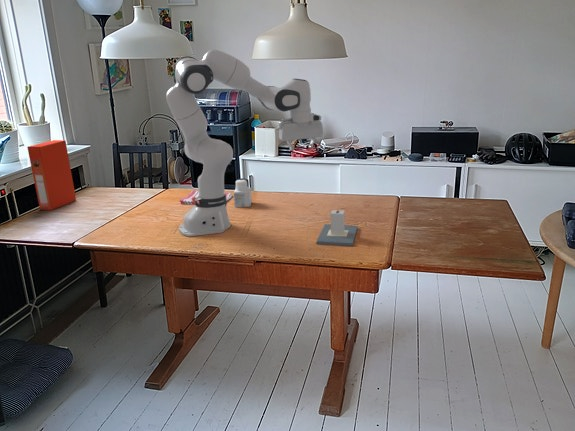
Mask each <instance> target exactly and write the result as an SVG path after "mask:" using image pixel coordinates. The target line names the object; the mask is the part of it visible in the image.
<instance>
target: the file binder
mask: <svg viewBox="0 0 575 431" xmlns="http://www.w3.org/2000/svg"><path fill="white" fill-rule="evenodd" d="M26 148H27V152H28V153H27V154H28V157H29V162H30V167H31V171H32V177H33V181H34V187H35V192H36V195H37V196H36V197H37V201H38V206H39V209H40V210H45V211H53V210H55V209H58V208H61V207H63V206H65V205H68V204H71V203H72V202H75V201H77V196H76V190H75V186H74V185H75V184H74V181H73V174H72V169H71V163H70V157H69V154H68V153H69V152H68V148H67V142H66V140H64V139H63V140H60V139H58V140H57V139H52V140H49V141H45V142H42V143H37V144H33V145H29V146H27V147H26Z"/></svg>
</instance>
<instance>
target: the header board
mask: <svg viewBox="0 0 575 431" xmlns="http://www.w3.org/2000/svg"><path fill="white" fill-rule="evenodd" d="M357 231H358V225H350V224H348V225H347V224H345V231H344V234H343V235H331V223H329V224H328V223H325V224H324V225H323V227H322V230H321V231H320V234H319V236H318V238H317V239H316V245H324V246H325V245H329V246H343V247H344V246H346V247H348V246H349V247H353V244H354V241H355V238H356V235H357Z"/></svg>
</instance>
